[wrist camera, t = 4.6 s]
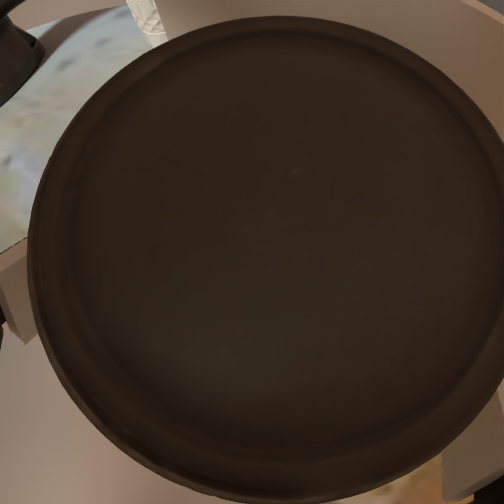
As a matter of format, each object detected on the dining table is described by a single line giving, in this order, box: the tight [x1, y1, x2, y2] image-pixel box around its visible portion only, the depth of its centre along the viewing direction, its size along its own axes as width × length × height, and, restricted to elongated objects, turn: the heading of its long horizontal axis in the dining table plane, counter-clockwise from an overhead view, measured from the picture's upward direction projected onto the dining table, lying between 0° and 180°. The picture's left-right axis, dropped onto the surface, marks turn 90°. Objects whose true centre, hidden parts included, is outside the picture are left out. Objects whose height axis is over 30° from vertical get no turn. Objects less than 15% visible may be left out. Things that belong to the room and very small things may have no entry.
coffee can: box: [27, 15, 504, 504], centre depth 11 cm, size 10×10×14 cm
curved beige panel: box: [154, 0, 504, 143], centre depth 12 cm, size 1×18×14 cm, turn 70°
